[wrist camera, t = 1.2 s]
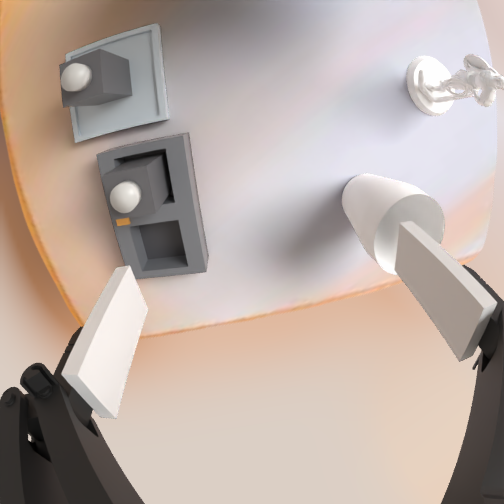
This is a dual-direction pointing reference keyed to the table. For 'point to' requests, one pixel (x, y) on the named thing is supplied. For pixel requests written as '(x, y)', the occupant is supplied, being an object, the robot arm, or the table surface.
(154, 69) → the tray
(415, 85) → the figurine
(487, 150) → the table surface
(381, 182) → the cup
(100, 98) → the plug
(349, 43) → the table surface
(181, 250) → the gray block holder
